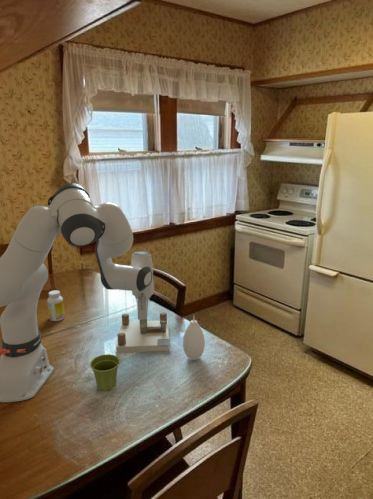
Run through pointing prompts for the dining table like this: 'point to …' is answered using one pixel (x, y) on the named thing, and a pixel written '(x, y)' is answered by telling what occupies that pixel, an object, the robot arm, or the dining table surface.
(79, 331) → the dining table surface
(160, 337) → the stool seat
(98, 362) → the plant pot
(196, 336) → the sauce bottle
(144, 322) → the swing leg
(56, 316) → the supplement bottle
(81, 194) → the robot arm
